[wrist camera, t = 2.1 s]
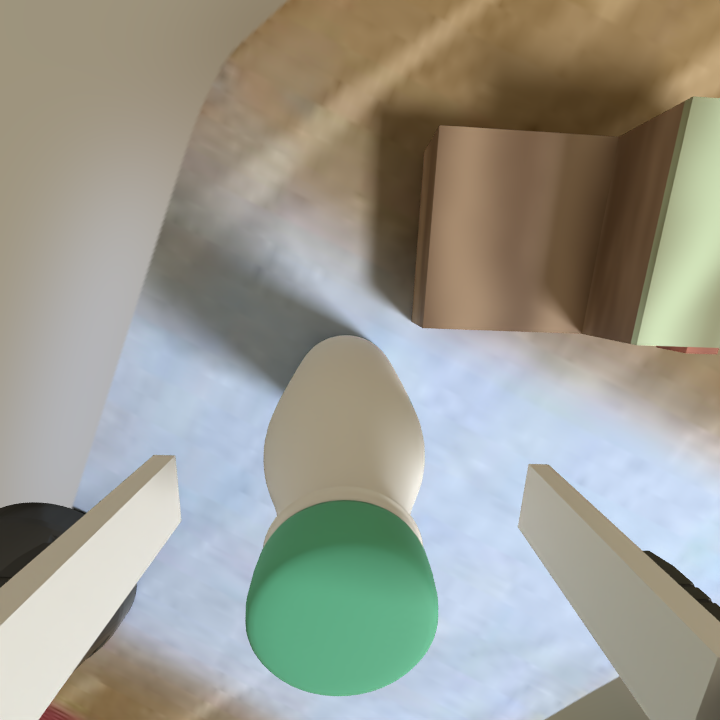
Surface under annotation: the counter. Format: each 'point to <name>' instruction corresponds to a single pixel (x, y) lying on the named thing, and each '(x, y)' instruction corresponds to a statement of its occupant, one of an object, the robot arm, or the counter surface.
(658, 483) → the counter surface
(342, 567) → the milk bottle
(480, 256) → the plinth
